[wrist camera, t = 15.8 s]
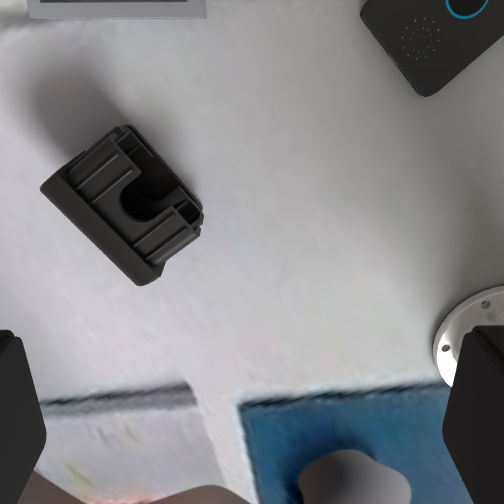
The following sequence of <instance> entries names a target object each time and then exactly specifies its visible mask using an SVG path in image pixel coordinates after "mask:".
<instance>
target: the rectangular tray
mask: <svg viewBox="0 0 504 504" xmlns="http://www.w3.org/2000/svg"><path fill="white" fill-rule="evenodd" d="M26 1H27V6H28V11H29V16H30V18H44V19H206V0H26Z"/></svg>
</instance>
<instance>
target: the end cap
mask: <svg viewBox="0 0 504 504" xmlns="http://www.w3.org/2000/svg"><path fill="white" fill-rule="evenodd" d="M40 191H41V192H42V193H43V194H44V195H45V196H46V197H47V198H48V199H49V200H50V201H51V202H52V203H53V204H54V205H55V206H56V207H57V208H58V209H59V210H60V211H61V212H62V213H63V214H64V215H65V216H66V217H67V218H68V219H69V220H70V221H71V222H72V223H73V224H74V225H75V226H76V227H77V228H78V229H79V230H80V231H81V232H82V233H83V234H85V235H86V236H87V237H88V238H89V239H90V240H91V241H92V242H93V243H94V244H95V245H96V246H97V247H98V248H99V249H100V250H101V251H102V252H103V253H104V254H105V255H106V256H107V257H108V258H109V259H110V260H111V261H112V262H113V263H114V264H115V265H116V266H117V267H118V268H119V269H120V270H121V271H122V272H123V273H124V274H125V275H126V276H127V277H128V278H129V279H130V280H131V281H132V282H134V283H135V284H136V285H137V286H144V285H147V284H149V283H151V282H153V281H154V280H156V279H158V278H159V277H160V276H161V274H162V271H163V268H164V266H165V263H166V261H167V260H168V259H169V258H171V257H172V256H173V255H175V254H176V253H177V252H179V251H180V250H181V249H183V248H184V247H185V246H187V245H188V244H189V243H191V242H192V241H194V240H195V239H196V238H198V237H199V236H200V231H201V228H200V227H199V226H201V225H202V224H203V218H204V215H203V213H202V209H203V207H202V205H201V203H200V202H199V201H198V200H197V199H196V198H195V196H194V195H193V194H192V193H191V192H190V191H189V190H188V188H187V187H186V186H185V185H184V184H183V183H182V181H181V180H180V179H179V178H178V177H177V176H176V175H175V173H174V172H173V171H172V170H171V169H170V168H169V167H168V165H167V164H166V163H165V162H164V161H163V160H162V159H161V157H160V156H159V155H158V154H157V153H156V152H155V151H154V149H153V148H152V147H151V146H150V145H149V144H148V142H147V141H146V140H145V139H144V138H143V137H142V136H141V134H140V133H139V132H138V131H137V130H136V129H135V128H134V127H133V126H132V125H128V124H127V125H125V126H124V125H123V126H122V127H115V128H114V129H113V130H112V131H111V132H109V133H107V134H106V135H105V136H103V137H102V138H101V139H100V140H99V141H98V142H97V143H95V144H94V145H93V146H92V147H91V148H90V149H89V150H87V151H83V152H82V153H81V154H79V155H78V156H77V157H75V158H74V159H72V160H71V161H70V162H68V163H67V164H66V165H64V166H63V167H62V168H60V169H59V170H57V171H56V172H55V173H54V174H53V175H52V176H51V177H50V178H49V179H47V180H46V181H45V182H44V183H43V184H42V185H41V187H40Z"/></svg>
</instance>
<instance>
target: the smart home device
mask: <svg viewBox="0 0 504 504" xmlns="http://www.w3.org/2000/svg"><path fill="white" fill-rule="evenodd" d="M360 17H361V19H362V20H363V22H364V23H365V24H366V26H367V27H368V28H369V30H370V31H371V32H372V34H373V35H374V36H375V38H376V39H377V40H378V42H379V43H380V44H381V46H382V47H383V48H384V50H385V51H386V52H387V54H388V56H389V57H390V58H391V60H392V61H393V62H394V63H395V65H396V66H397V67H398V68H399V70H400V71H401V72H402V73H403V75H404V76H405V77H406V79H407V80H408V81H409V83H410V84H411V85H412V87H413V88H414V89H415V91H416V92H417V93H418V94H419V95H421V96H424V97H428V96H431V95H433V94H434V93H436V92H438V91H439V90H440V89H441V88H443V87H444V86H445V85H446V84H447V83H448V82H450V81H451V80H452V79H453V78H454V77H455V76H457V75H458V74H459V73H460V72H461V71H462V70H463V69H465V68H466V67H467V66H468V65H469V64H470V63H472V62H473V61H474V60H475V59H476V58H477V57H479V56H480V55H481V54H482V53H483V52H484V51H486V50H487V49H488V48H489V47H490V46H491V45H493V44H494V43H495V42H496V41H497V40H498V39H499V38H501V37H502V36H503V35H504V0H368V1H367V3H366V4H365V5H364V7H363V8H362V10H361V13H360Z"/></svg>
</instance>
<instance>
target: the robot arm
mask: <svg viewBox="0 0 504 504" xmlns="http://www.w3.org/2000/svg"><path fill="white" fill-rule="evenodd" d="M433 358H434V362H435V365H436V367H437V369H438V371H439V373H440V375H441V376H442V378H443V379H444V381H445V382H446V383H447V384H448V385H449V386H451V392H450V396H449V400H448V404H447V409H446V413H445V417H444V421H443V427H442V433H443V439H444V442H445V445H446V447H447V449H448V451H449V453H450V455H451V457H452V459H453V461H454V463H455V465H456V467H457V470H458V472H459V474H460V476H461V478H462V480H463V482H464V484H465V486H466V488H467V490H468V492H469V494H470V497H471V499H472V501H473V503H474V504H504V286H499V287H494V288H491V289H488V290H485V291H482V292H480V293H478V294H476V295H474V296H472V297H470V298H468V299H467V300H465V301H464V302H462V303H461V304H459V305H458V306H457V307H456V308H455V309H454V310H453V311H452V312H451V313H450V314H449V315H448V316H447V317H446V319H445V320H444V321H443V323H442V324H441V326H440V328H439V330H438V332H437V334H436V336H435V340H434V344H433ZM45 442H46V428H45V424H44V420H43V417H42V413H41V409H40V405H39V402H38V398H37V394H36V390H35V387H34V383H33V379H32V376H31V372H30V368H29V364H28V361H27V357H26V353H25V349H24V346H23V342H22V340H21V339H20V337H15V336H14V334H13V333H12V332H11V331H10V330H0V504H17V502H18V500H19V498H20V496H21V494H22V491H23V490H24V488H25V485H26V483H27V481H28V479H29V477H30V475H31V473H32V471H33V469H34V467H35V465H36V463H37V461H38V459H39V457H40V455H41V453H42V451H43V449H44V446H45Z"/></svg>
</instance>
